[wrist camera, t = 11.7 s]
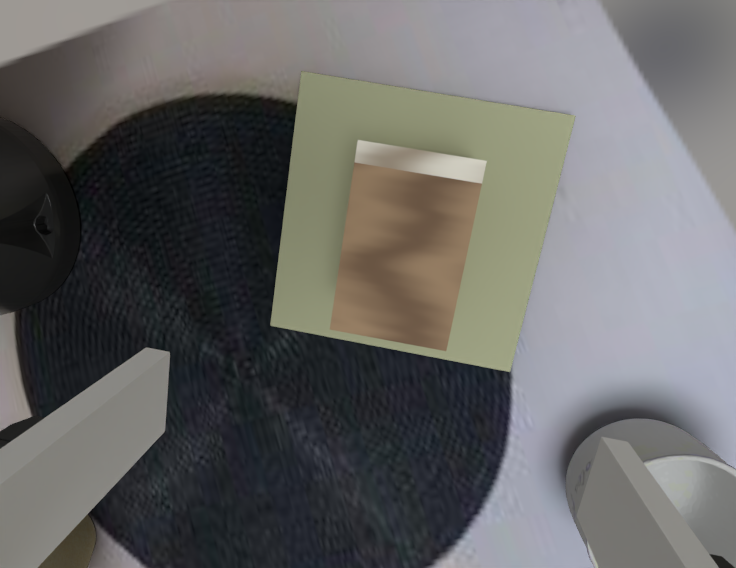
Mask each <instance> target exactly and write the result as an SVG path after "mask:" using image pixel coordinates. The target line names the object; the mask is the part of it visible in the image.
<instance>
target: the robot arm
mask: <svg viewBox="0 0 736 568" xmlns="http://www.w3.org/2000/svg"><path fill="white" fill-rule="evenodd" d="M79 242H80V218H79V212H78V207H77V203H76V199H75V196H74V193H73V190H72V188H71V185H70V183H69V181H68V179H67V177H66V175H65V173H64V171H63V170H62V168H61V166H60V165H59V164H58V162H57V161H56V159H55V158H54V157H53V155H52V154H51V153H50V152H49V151H48V150H47V149H46V147H45V146H44V145H43V144H42V143H41V142H39V141H38V140H37V139H36V138H35V137H34V136H32V135H31V134H30V133H28V132H27V131H26V130H24V129H23V128H21V127H19V126H18V125H16V124H14V123H12V122H10V121H8V120H5V119H3V118H0V315H2V314H7V313H11V312H14V311H17V310H20V309H22V308H25V307H28V306H30V305H33V304H35V303H38V302H40V301H42V300H44V299H45V298H47V297H48V296H50V295H51V294H52V293H54V292H55V291H56V290H57V289H58V288H59V287H60V286H61V285H62V283H63V282H64V281H65V279H66V278H67V277H68V275H69V273H70V271H71V269H72V267H73V265H74V263H75V260H76V257H77V253H78V248H79ZM169 362H170V352H167V351H162V350H157V349H152V348H145V349H143V350H142V351H140V352H139V353H138V354H136V355H135V356H133V357H132V358H130V359H129V360H128V361H126V362H125V363H123V364H122V365H120V366H119V367H117V368H116V369H115V370H113V371H112V372H110V373H109V374H107V375H106V376H104V377H103V378H102V379H100V380H99V381H97V382H96V383H94V384H93V385H92V386H90V387H89V388H87V389H86V390H84V391H83V392H81V393H80V394H79V395H77V396H76V397H74V398H73V399H71V400H70V401H68V402H67V403H66V404H64V405H63V406H61V407H60V408H58V409H57V410H56V411H54V412H53V413H51V414H50V415H48V416H47V417H45V418H42V417H37V416H33V417H30V418H28V419H25V420H22V421H20V422H17V423H14V424H12V425H10V426H8V427H7V428H5V429H4V430H2V431H1V432H0V568H38V567H39V566H40V564H41V563H42V562H43V561H44V560H45V559H46V558H47V557H48V556H49V555H50V554H51V553H52V552H53V551H54V549H55V548H56V547H57V546H58V545H59V544H60V543H61V542H62V541H63V540H64V539H65V538H66V537H67V536H68V534H69V533H70V532H71V531H72V530H73V529H74V528H75V527H76V526H77V525H78V524H79V523H80V522H81V521H82V519H83V518H84V517H85V516H86V515H87V514H88V513H89V512H90V511H91V510H92V509H93V508H94V507H95V506H96V504H97V503H98V502H99V501H100V500H101V499H102V498H103V497H104V496H105V495H106V494H107V493H108V492H109V491H110V489H111V488H112V487H113V486H114V485H115V484H116V483H117V482H118V481H119V480H120V479H121V478H122V477H123V476H124V474H125V473H126V472H127V471H128V470H129V469H130V468H131V467H132V466H133V465H134V464H135V463H136V462H137V461H138V459H139V458H140V457H141V456H142V455H143V454H144V453H145V452H146V451H147V450H148V449H149V448H150V447H151V446H152V444H153V443H154V442H155V441H156V440H157V439H158V438H159V437H160V436H161V435H162V434H163V433H164V432H165V422H166V407H167V392H168V377H169ZM577 518H578V520H579V523H580V525H581V527H582V530H583V532H584V534H585V537H586V539H587V541H588V544H589V546H590V548H591V551H592V553H593V555H594V557H595V560H596V562H597V564H598V567H599V568H735V567H734V566H733V565H731V564H730V563H729V562H728V561H727V560H726V559H724V558H723V557H722V556H718V555H713V554H709V553H708V552H707V550H706V549H705V548H704V546H703V545H702V543H701V542H700V541H699V539H698V538H697V537H696V535H695V534H694V532H693V531H692V530H691V528H690V527H689V526H688V524H687V523H686V521H685V520H684V519H683V517H682V516H681V514H680V513H679V512H678V510H677V509H676V508H675V506H674V505H673V503H672V502H671V501H670V499H669V498H668V496H667V495H666V494H665V492H664V491H663V490H662V488H661V487H660V485H659V484H658V483H657V481H656V480H655V479H654V477H653V476H652V474H651V473H650V472H649V470H648V469H647V467H646V466H645V465H644V463H643V462H642V461H641V459H640V458H639V456H638V455H637V454H636V452H635V451H634V449H633V448H632V447H631V445H630V444H629V443H628V442H627V441H621V440H616V439H611V438H606V437H601V439H600V443H599V446H598V449H597V452H596V455H595V458H594V462H593V465H592V468H591V471H590V474H589V478H588V481H587V484H586V487H585V490H584V493H583V497H582V500H581V503H580V506H579V509H578V512H577Z"/></svg>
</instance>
